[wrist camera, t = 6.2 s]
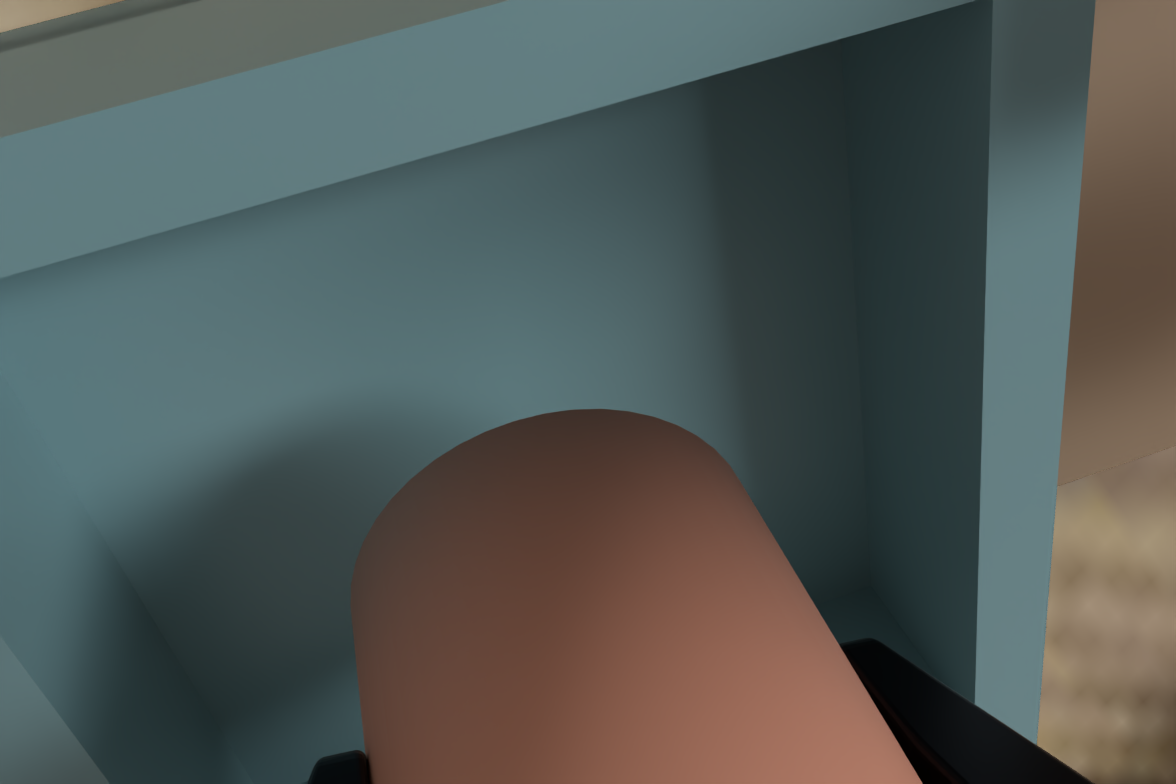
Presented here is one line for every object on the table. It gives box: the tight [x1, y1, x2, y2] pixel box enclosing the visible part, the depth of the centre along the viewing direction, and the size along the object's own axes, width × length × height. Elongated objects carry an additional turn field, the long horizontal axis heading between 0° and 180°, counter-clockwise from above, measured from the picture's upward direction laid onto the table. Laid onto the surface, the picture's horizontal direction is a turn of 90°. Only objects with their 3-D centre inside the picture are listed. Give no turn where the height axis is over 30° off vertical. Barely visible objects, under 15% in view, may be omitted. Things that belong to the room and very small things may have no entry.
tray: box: [0, 0, 1096, 784], centre depth 13 cm, size 12×12×4 cm
